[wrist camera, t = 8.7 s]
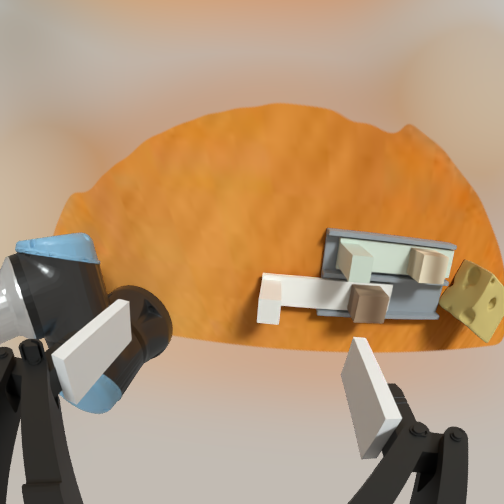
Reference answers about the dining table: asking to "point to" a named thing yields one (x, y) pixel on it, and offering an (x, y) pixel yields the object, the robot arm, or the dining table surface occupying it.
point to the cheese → (475, 299)
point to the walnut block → (367, 304)
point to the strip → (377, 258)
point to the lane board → (388, 278)
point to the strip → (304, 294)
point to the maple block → (427, 266)
